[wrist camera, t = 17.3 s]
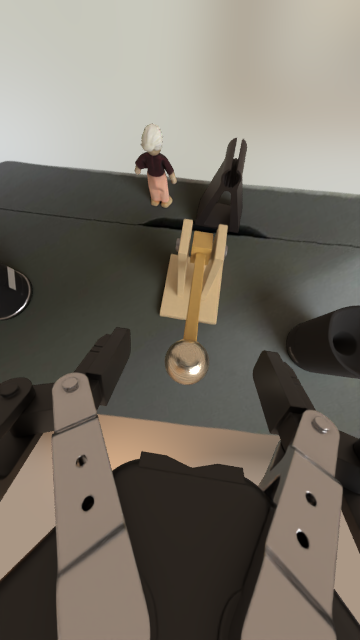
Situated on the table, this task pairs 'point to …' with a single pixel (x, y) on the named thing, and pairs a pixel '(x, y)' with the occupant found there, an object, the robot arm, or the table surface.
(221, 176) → the phone stand
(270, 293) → the table surface
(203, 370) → the lever
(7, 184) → the table surface
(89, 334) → the table surface
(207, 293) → the bracket
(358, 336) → the pen holder
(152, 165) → the grandmother figurine
